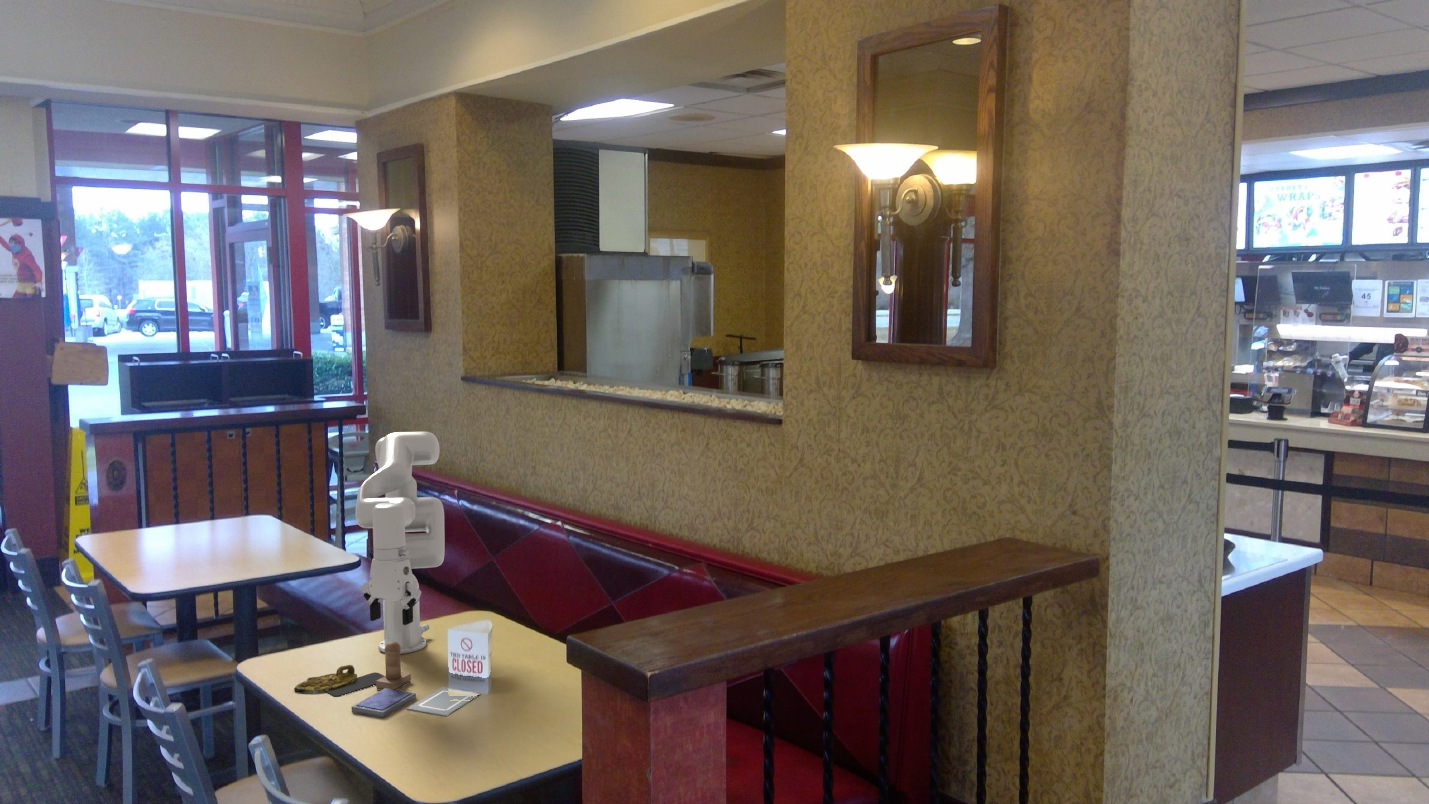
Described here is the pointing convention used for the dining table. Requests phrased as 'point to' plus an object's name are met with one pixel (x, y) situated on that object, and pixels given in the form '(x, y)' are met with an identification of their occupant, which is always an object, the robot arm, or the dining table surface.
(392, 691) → the ink pad
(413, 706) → the stamp card
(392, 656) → the stamp
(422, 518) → the robot arm
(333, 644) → the dining table surface
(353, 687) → the phone
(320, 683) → the brass ornament
